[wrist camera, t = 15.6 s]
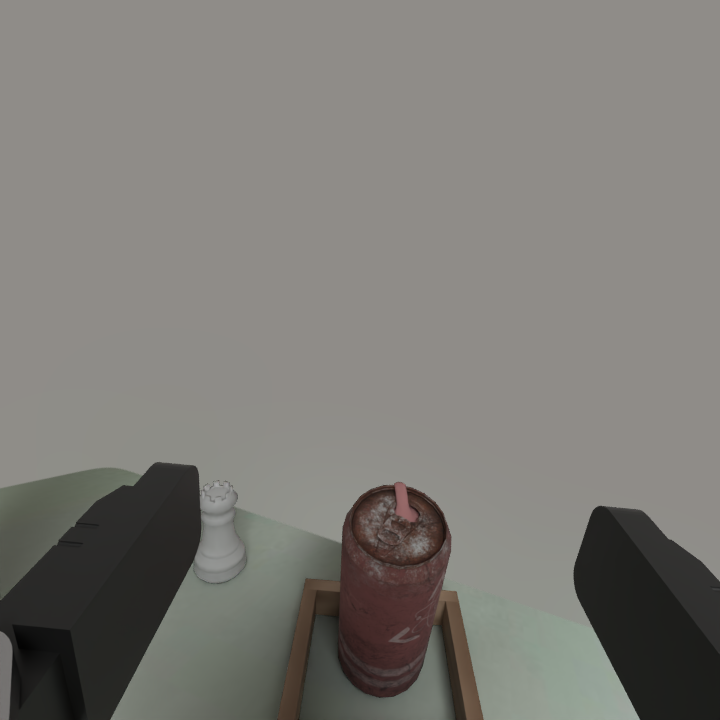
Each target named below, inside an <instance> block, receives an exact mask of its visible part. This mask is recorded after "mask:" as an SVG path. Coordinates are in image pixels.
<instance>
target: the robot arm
mask: <svg viewBox="0 0 720 720" xmlns="http://www.w3.org/2000/svg"><path fill="white" fill-rule="evenodd" d="M200 537H201V510H200V490H199V474H198V470H197V468H196V466H193V465H181V464H172V463H161V462H157V463H155V464H153V465H152V466H151V467H150V468H149V469H148V470H147V472H146V473H145V474H144V475H143V476H142V477H141V478H140V479H139V481H138V482H137V483H136V484H135V485H134V486H125V485H123V486H121V487H120V488H118V489H116V490H115V491H113V492H111V493H110V494H108V495H106V496H105V497H103V498H101V499H100V500H98V501H96V502H95V503H94V504H93V505H92V506H91V507H90V508H89V510H88V511H87V512H86V513H85V514H84V515H83V516H82V517H81V518H80V519H79V520H78V521H77V522H76V525H75V527H71V528H70V529H69V530H68V531H67V532H66V533H65V534H64V535H63V537H62V538H61V539H60V540H59V542H58V545H57V546H56V545H54V546H53V547H52V548H51V549H50V550H49V551H48V552H47V553H46V554H45V555H44V556H43V557H42V558H41V559H40V560H39V561H38V563H37V564H36V565H35V566H34V567H33V568H32V569H31V570H30V571H29V572H28V573H27V574H26V575H25V576H24V577H23V578H22V579H21V580H20V581H19V582H18V583H17V584H16V585H15V586H14V587H13V588H12V590H11V591H10V592H9V593H8V594H7V595H6V596H5V597H4V598H3V599H2V600H1V601H0V720H110V719H111V717H112V715H113V713H114V711H115V709H116V707H117V705H118V704H119V702H120V700H121V698H122V696H123V694H124V692H125V690H126V688H127V686H128V684H129V683H130V681H131V679H132V677H133V675H134V673H135V671H136V669H137V667H138V665H139V664H140V662H141V660H142V658H143V656H144V654H145V652H146V650H147V648H148V646H149V644H150V643H151V641H152V639H153V637H154V635H155V633H156V631H157V629H158V627H159V625H160V623H161V622H162V620H163V618H164V616H165V614H166V612H167V610H168V608H169V606H170V604H171V603H172V601H173V599H174V597H175V595H176V593H177V591H178V589H179V587H180V585H181V583H182V582H183V580H184V578H185V576H186V574H187V572H188V570H189V568H190V566H191V564H192V562H193V560H194V558H195V556H196V553H197V550H198V546H199V542H200ZM574 585H575V590H576V594H577V597H578V599H579V601H580V603H581V605H582V607H583V609H584V611H585V613H586V615H587V617H588V619H589V621H590V623H591V625H592V627H593V629H594V631H595V633H596V635H597V637H598V638H599V640H600V642H601V644H602V646H603V648H604V650H605V652H606V654H607V656H608V658H609V660H610V662H611V664H612V666H613V668H614V670H615V672H616V674H617V676H618V677H619V679H620V681H621V683H622V685H623V687H624V689H625V691H626V693H627V695H628V697H629V699H630V701H631V703H632V705H633V707H634V709H635V711H636V713H637V715H638V716H639V718H640V720H720V582H719V580H718V579H717V578H716V577H715V576H714V575H713V574H712V573H711V572H710V571H709V569H708V568H707V567H706V566H705V565H704V564H703V563H702V562H701V561H700V560H698V559H697V558H696V557H694V556H693V555H691V554H690V553H689V552H687V551H686V550H685V549H683V548H682V547H681V546H679V545H678V544H676V543H675V542H674V541H672V540H669V539H668V538H667V537H666V536H665V535H664V534H663V533H662V531H661V530H660V529H659V528H658V527H657V526H656V525H655V523H654V522H653V521H652V520H651V519H650V518H649V517H648V516H647V515H646V514H645V513H644V512H643V511H641V510H636V509H626V508H616V507H606V506H598V507H596V508H595V509H594V510H593V512H592V514H591V516H590V519H589V522H588V525H587V529H586V532H585V535H584V538H583V541H582V544H581V547H580V550H579V553H578V556H577V559H576V562H575V566H574Z"/></svg>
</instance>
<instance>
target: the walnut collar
mask: <svg viewBox="0 0 720 720" xmlns="http://www.w3.org/2000/svg"><path fill="white" fill-rule="evenodd" d="M339 605H340V581H329V580H318V579H306V580H305V585H304V590H303V595H302V600H301V605H300V610H299V615H298V620H297V625H296V630H295V634H294V639H293V644H292V649H291V654H290V659H289V664H288V669H287V674H286V679H285V684H284V689H283V693H282V698H281V703H280V708H279V713H278V718H277V720H299V715H300V708H301V702H302V696H303V690H304V683H305V677H306V671H307V665H308V658H309V652H310V646H311V640H312V633H313V627H314V621H315V615H328V616H339ZM433 625H442V630H443V637H444V643H445V650H446V656H447V662H448V669H449V675H450V682H451V688H452V695H453V701H454V707H455V714H456V720H483V715H482V710H481V705H480V701H479V696H478V691H477V686H476V682H475V677H474V672H473V667H472V662H471V658H470V653H469V648H468V643H467V639H466V634H465V629H464V624H463V620H462V615H461V610H460V605H459V600H458V596H457V591H446V590H441V593H440V597H439V601H438V605H437V609H436V614H435V618H434V622H433Z"/></svg>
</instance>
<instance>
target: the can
mask: <svg viewBox="0 0 720 720" xmlns="http://www.w3.org/2000/svg"><path fill="white" fill-rule="evenodd" d="M450 553H451V534H450V531H449V528H448V525H447V522H446V520H445V517H444V514H443V512H442V511H441V509H440V508H439V507H438V505H437V504H436V502H434V501H433V500H432V499H431V498H430V497H428V496H427V495H426V494H425V493H422V492H420V491H418V490H416V489H414V488H411V487H406V485H405V484H403V483H402V482H396V483H395V484H394V485H383V486H380V487H376V488H373V489H371V490H369V491H367V492H366V493H364V494H363V495H361V496H360V497H359V499H358V500H357V501H356V503H355V504H354V505H353V507H352V508H351V510H350V511H349V512H348V513H347V515H346V519H345V522H344V525H343V532H342V556H341V581H340V605H339V630H338V654H339V660H340V663H341V666H342V668H343V671H344V673H345V674H346V676H347V677H348V678H349V680H350V681H351V683H352V684H353V685H354V686H356V687H357V688H358V689H360V690H361V691H363V692H364V693H365V694H369V695H372V696H376V697H379V698H381V697H393V696H396V695H398V694H400V693H402V692H404V691H406V690H408V688H409V687H410V686H411V685H412V684H413V683H414V682H415V681H416V680H417V678H418V676H419V673H420V671H421V668H422V666H423V662H424V658H425V654H426V650H427V646H428V642H429V638H430V634H431V630H432V626H433V622H434V618H435V614H436V609H437V605H438V601H439V597H440V593H441V589H442V585H443V581H444V577H445V573H446V569H447V565H448V560H449V557H450Z"/></svg>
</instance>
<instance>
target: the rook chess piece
mask: <svg viewBox="0 0 720 720" xmlns="http://www.w3.org/2000/svg"><path fill="white" fill-rule="evenodd" d="M203 488H204V490H201V495H200V509H201V510H203V512H202V514H201V520H202V521H203V522H204V529H203V538H202V540H201V542H200V544H199V546H198V550H197V553H196V556H195V558H194V572H195V573H196V575H197V576H198V578H200V579H202V580H204V581H206V582H208V583H216V584H218V583H223V582H227V581H229V580H231V579H232V578H234V577H235V576H236V575H237V574H238V573H239V572H240V571H241V570H242V569H243V568H244V566H245V563H246V560H247V559H246V551H245V545H244V543H243V541H242V540H241V539H240V537H239V536H238V535H237V534H236V532H235V527H234V521H233V518H234V516H235V514H236V512H235V509H234V508H233V506H234V505H235V503H236V501H237V499H238V495H237V493H236V492H235V491H234V490H233V486H232V485H231V486H230V483H229V482H227V481H224V483H223V485H220V484H219V481H213V486H212V487H210V485H209V484H206V485H205V486H204V487H203Z"/></svg>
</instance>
